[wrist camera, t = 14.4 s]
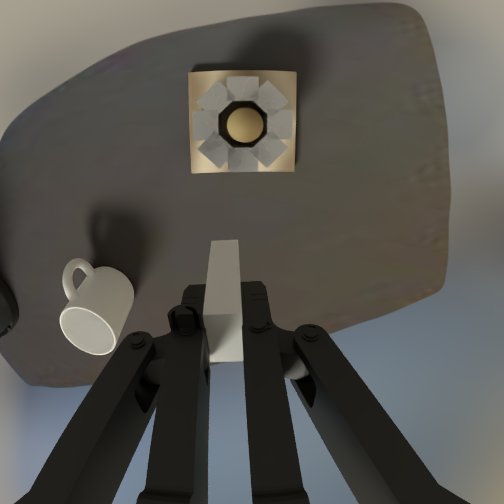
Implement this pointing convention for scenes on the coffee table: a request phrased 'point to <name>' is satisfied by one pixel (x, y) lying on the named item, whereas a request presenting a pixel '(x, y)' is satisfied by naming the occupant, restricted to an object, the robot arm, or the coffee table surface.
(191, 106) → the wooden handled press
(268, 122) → the studded hollow tube
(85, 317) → the mug
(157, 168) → the coffee table surface
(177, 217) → the coffee table surface
